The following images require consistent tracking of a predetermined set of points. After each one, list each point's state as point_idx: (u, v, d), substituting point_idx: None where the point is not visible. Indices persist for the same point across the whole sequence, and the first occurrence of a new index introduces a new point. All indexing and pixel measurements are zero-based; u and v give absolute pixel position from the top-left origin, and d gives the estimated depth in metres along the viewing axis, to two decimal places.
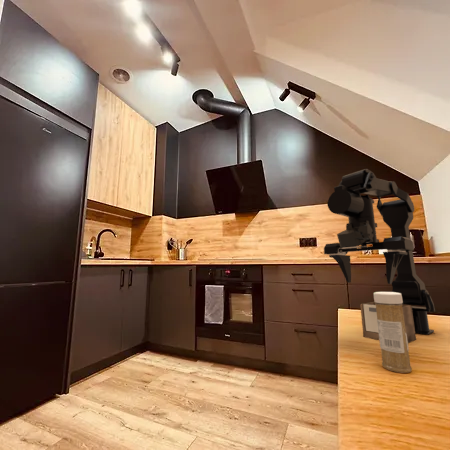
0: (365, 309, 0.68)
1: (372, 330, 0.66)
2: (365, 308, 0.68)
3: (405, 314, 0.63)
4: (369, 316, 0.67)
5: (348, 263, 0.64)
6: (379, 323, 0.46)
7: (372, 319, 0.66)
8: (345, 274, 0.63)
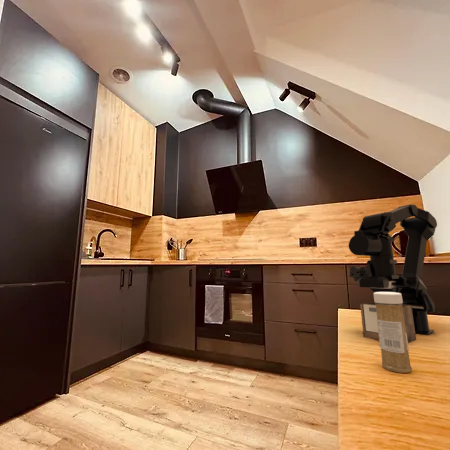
0: (365, 309, 0.68)
1: (372, 330, 0.66)
2: (365, 308, 0.68)
3: (405, 314, 0.63)
4: (369, 316, 0.67)
5: None
6: (379, 323, 0.46)
7: (372, 319, 0.66)
8: None
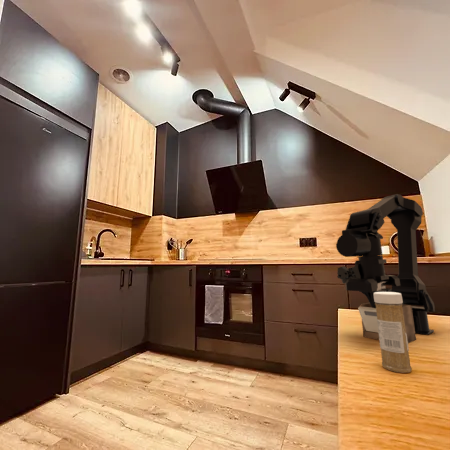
0: (361, 312, 0.66)
1: (372, 330, 0.65)
2: (360, 311, 0.66)
3: (405, 314, 0.63)
4: (366, 318, 0.65)
5: None
6: (379, 323, 0.46)
7: (370, 321, 0.65)
8: None
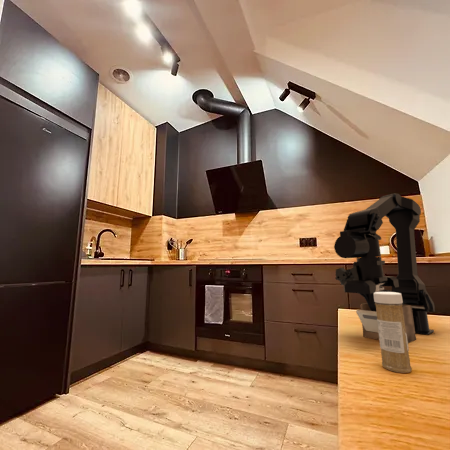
0: (359, 315, 0.65)
1: (372, 330, 0.65)
2: (359, 315, 0.65)
3: (405, 314, 0.63)
4: (365, 320, 0.65)
5: None
6: (379, 323, 0.46)
7: (369, 323, 0.65)
8: None
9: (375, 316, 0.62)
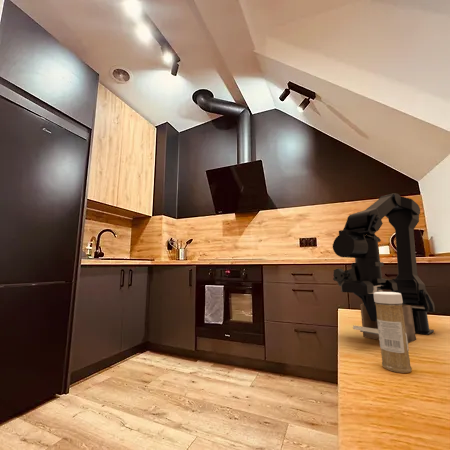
0: (357, 329, 0.63)
1: None
2: (356, 329, 0.63)
3: (405, 314, 0.63)
4: None
5: None
6: (379, 323, 0.46)
7: None
8: None
9: (373, 333, 0.60)
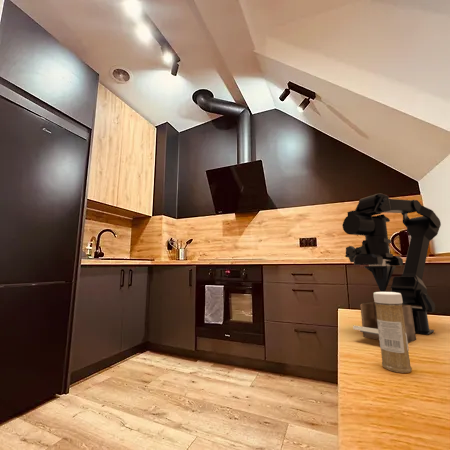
0: (357, 329, 0.63)
1: None
2: (356, 329, 0.63)
3: (405, 314, 0.63)
4: None
5: None
6: (379, 323, 0.46)
7: None
8: None
9: (373, 333, 0.60)
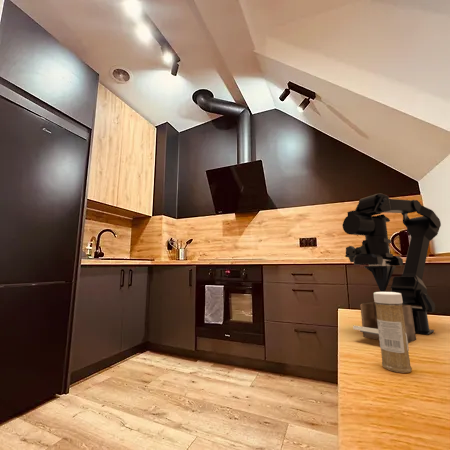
0: (357, 329, 0.63)
1: None
2: (356, 329, 0.63)
3: (405, 314, 0.63)
4: None
5: None
6: (379, 323, 0.46)
7: None
8: None
9: (373, 333, 0.60)
